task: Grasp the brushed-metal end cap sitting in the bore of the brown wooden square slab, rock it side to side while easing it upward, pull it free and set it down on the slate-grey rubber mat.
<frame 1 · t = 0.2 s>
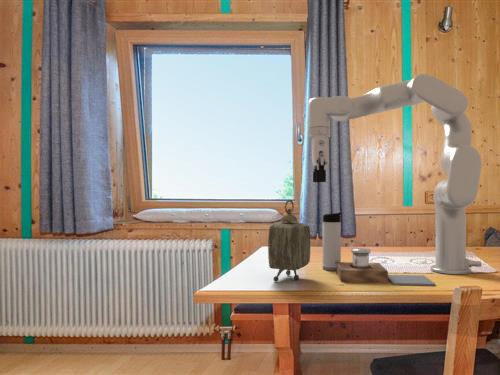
hand: (319, 182, 154), 31 cm above the table, fingers open, 9 cm apart
brown wooden square slab: (360, 277, 140), on the table
travel mug: (332, 269, 154), on the table
mat: (409, 281, 135), on the table
tabletop clock: (290, 280, 137), on the table
end cap: (360, 263, 140), in the brown wooden square slab
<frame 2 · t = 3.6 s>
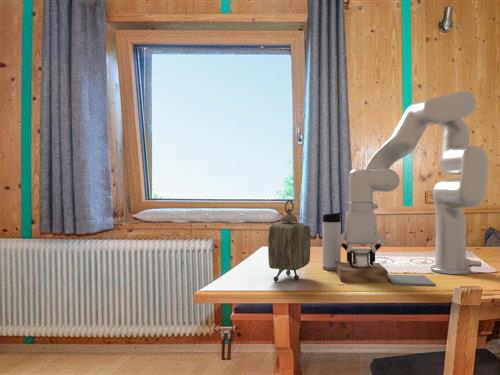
hand: (360, 263, 140), 4 cm above the table, fingers closed on end cap, 6 cm apart
end cap: (360, 263, 140), in the brown wooden square slab, touching gripper
everything else where it was.
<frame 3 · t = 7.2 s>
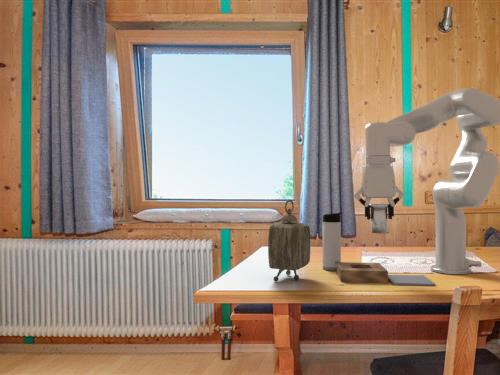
hand: (379, 218, 138), 19 cm above the table, fingers closed on end cap, 6 cm apart
end cap: (379, 218, 138), point 19 cm above the table, touching gripper
everything else where it was.
when the fingers open (6 cm above the table, at t = 11.0 s): end cap drops 1 cm, resting on mat.
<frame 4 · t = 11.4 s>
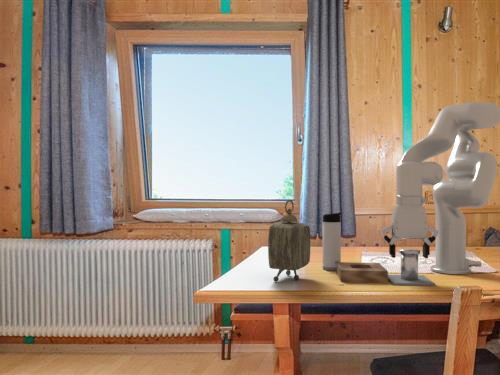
hand: (409, 257, 135), 7 cm above the table, fingers open, 9 cm apart
end cap: (409, 264, 135), on the mat, point 5 cm above the table
everything else where it was.
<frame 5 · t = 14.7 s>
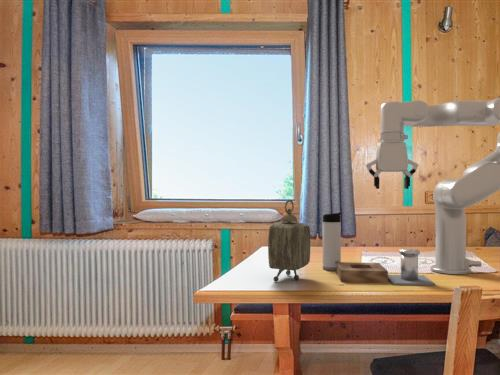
hand: (391, 188, 150), 28 cm above the table, fingers open, 9 cm apart
nothing on the table moved.
at the end: end cap 0.1 cm from the mat (horizontally); end cap touching mat; end cap tilted 0° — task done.
